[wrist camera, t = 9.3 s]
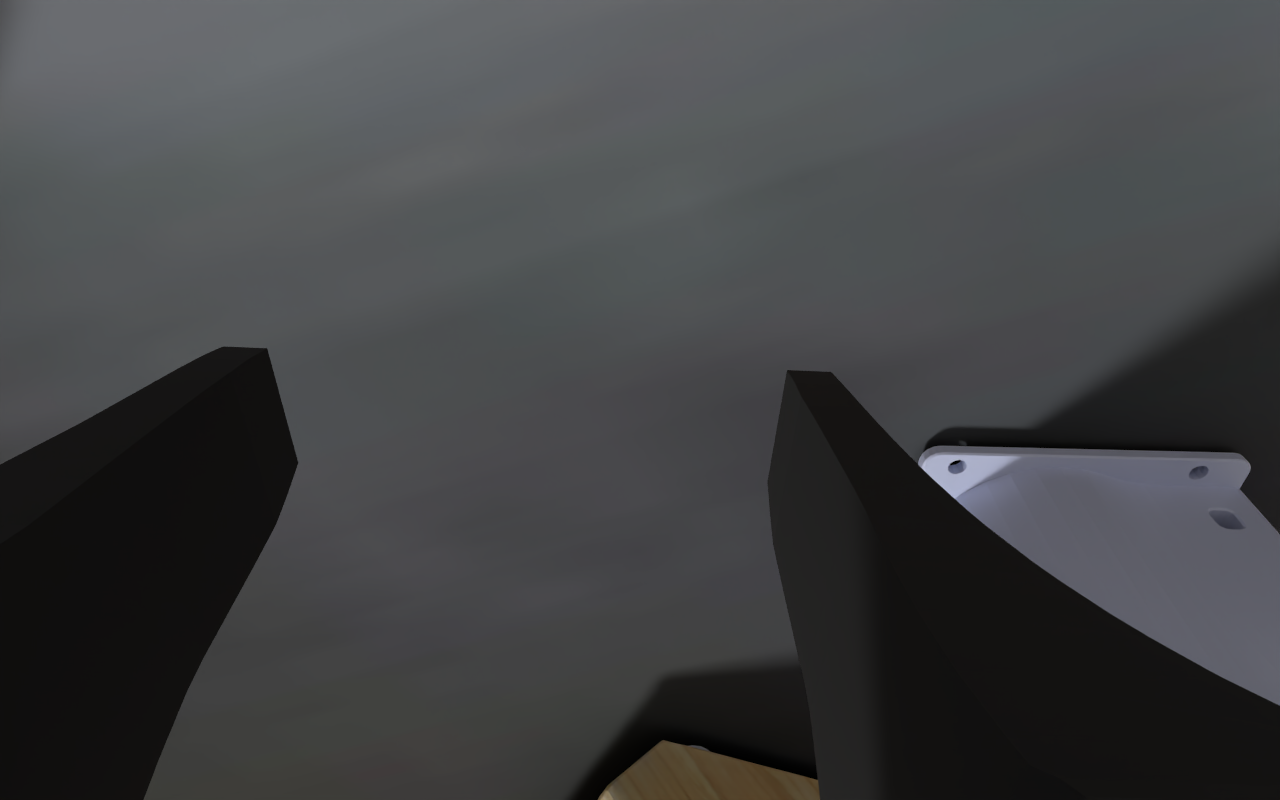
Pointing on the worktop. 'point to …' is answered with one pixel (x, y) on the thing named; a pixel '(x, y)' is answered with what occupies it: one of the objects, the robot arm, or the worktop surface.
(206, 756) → the worktop surface
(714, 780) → the knife block
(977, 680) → the robot arm
